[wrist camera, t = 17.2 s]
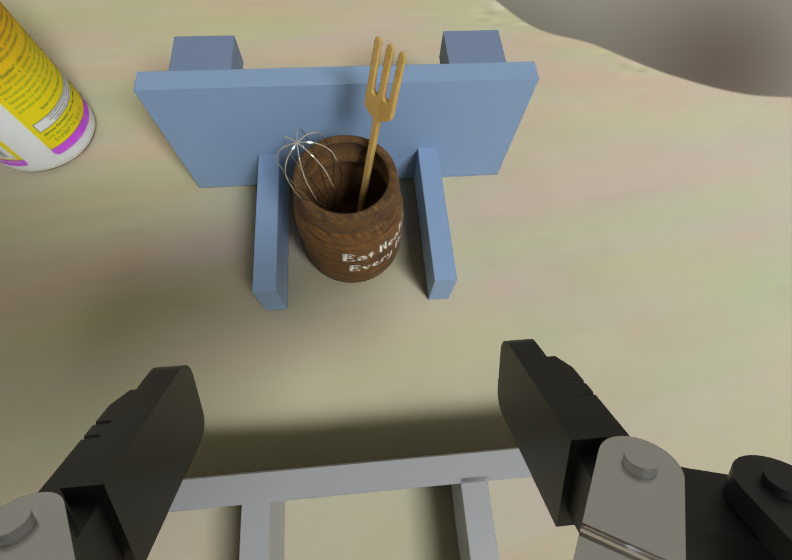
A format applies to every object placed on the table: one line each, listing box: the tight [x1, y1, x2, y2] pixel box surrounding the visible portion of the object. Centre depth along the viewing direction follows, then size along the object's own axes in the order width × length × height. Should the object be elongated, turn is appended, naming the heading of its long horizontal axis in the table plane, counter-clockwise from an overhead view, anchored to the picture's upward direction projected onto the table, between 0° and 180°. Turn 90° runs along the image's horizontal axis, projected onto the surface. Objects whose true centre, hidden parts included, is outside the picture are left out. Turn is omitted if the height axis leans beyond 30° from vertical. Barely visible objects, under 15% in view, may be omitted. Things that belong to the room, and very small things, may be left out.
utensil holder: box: [276, 36, 407, 283], centre depth 21 cm, size 6×6×12 cm
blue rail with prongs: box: [133, 30, 539, 310], centre depth 23 cm, size 12×20×8 cm, turn 95°
